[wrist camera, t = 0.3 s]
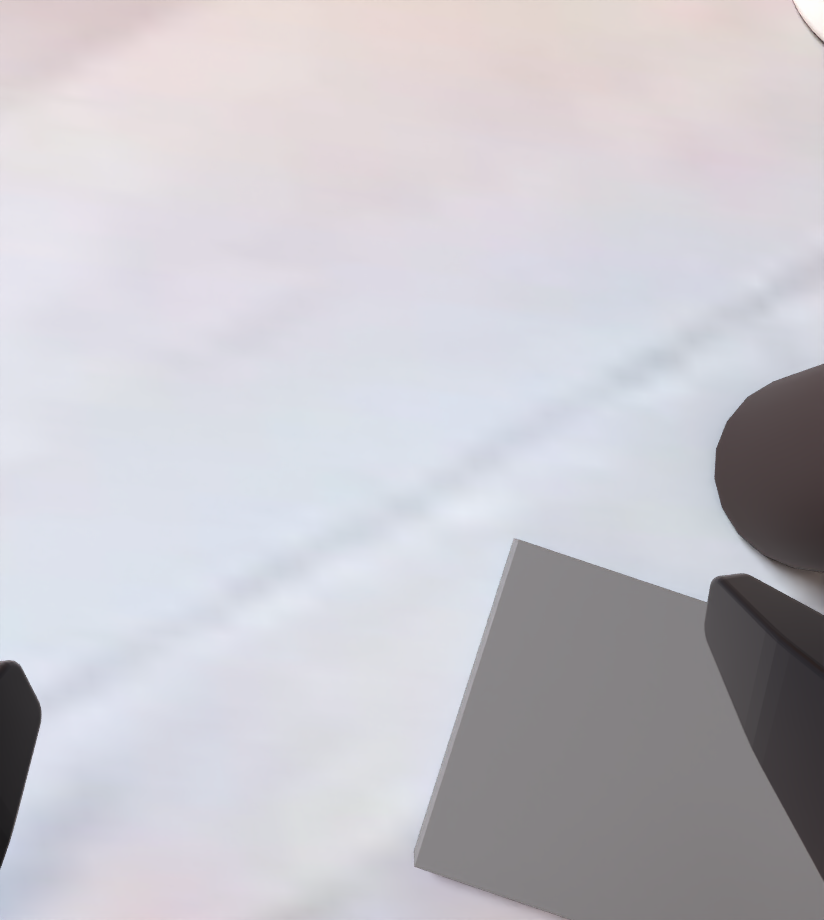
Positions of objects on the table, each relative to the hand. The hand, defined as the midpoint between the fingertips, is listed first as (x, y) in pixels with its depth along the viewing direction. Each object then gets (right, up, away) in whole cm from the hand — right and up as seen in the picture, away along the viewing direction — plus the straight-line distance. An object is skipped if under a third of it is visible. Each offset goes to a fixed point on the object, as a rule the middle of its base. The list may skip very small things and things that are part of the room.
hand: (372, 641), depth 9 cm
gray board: (+11, -8, +14) cm, 20 cm away
